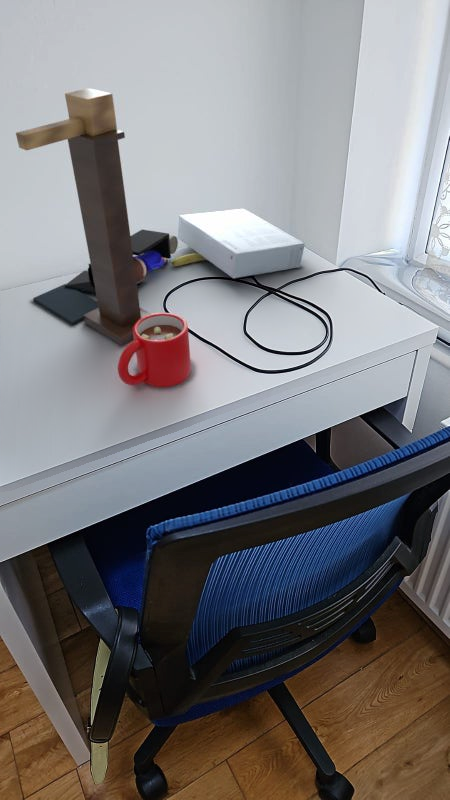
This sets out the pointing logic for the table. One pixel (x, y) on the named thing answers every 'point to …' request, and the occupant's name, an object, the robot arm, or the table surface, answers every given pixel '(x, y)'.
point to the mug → (158, 351)
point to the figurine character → (151, 250)
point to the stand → (107, 234)
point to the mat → (67, 303)
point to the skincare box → (240, 242)
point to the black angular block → (85, 282)
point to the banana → (188, 259)
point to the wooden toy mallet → (75, 120)
